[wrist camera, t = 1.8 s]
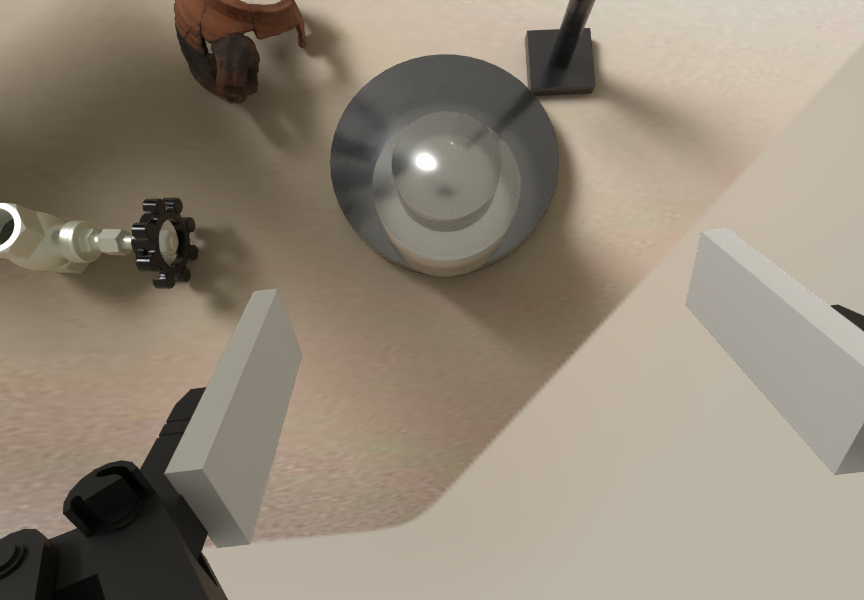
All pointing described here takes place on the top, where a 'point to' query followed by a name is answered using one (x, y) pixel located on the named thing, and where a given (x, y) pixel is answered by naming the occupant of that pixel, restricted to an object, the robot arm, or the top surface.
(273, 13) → the brown irregular ringed piece
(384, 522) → the top surface
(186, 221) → the valve
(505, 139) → the grey metal flat disc
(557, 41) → the dial stand
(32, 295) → the top surface
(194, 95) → the top surface
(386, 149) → the cover
